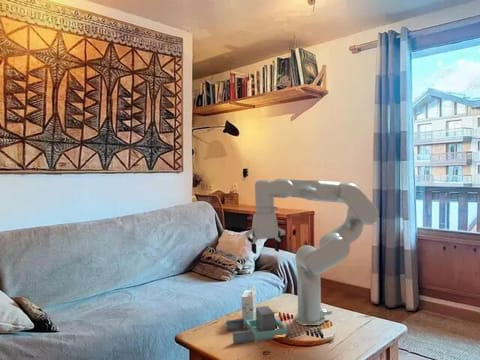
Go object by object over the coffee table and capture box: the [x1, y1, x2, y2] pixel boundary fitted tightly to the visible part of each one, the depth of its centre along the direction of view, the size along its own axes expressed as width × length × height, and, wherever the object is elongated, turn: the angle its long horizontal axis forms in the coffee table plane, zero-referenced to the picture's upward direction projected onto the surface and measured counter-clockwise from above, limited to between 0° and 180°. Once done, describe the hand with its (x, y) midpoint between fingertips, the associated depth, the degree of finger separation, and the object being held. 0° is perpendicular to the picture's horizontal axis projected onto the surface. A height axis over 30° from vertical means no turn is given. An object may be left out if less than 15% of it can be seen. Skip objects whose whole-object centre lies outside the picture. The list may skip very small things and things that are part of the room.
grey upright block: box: [256, 305, 275, 332], centre depth 154 cm, size 5×8×8 cm, turn 14°
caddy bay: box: [225, 318, 253, 345], centre depth 152 cm, size 7×12×4 cm, turn 14°
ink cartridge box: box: [241, 283, 257, 325], centre depth 166 cm, size 9×5×15 cm, turn 168°
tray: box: [244, 315, 288, 343], centre depth 154 cm, size 13×13×3 cm
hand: (265, 252), depth 160 cm, fingers open, 9 cm apart
